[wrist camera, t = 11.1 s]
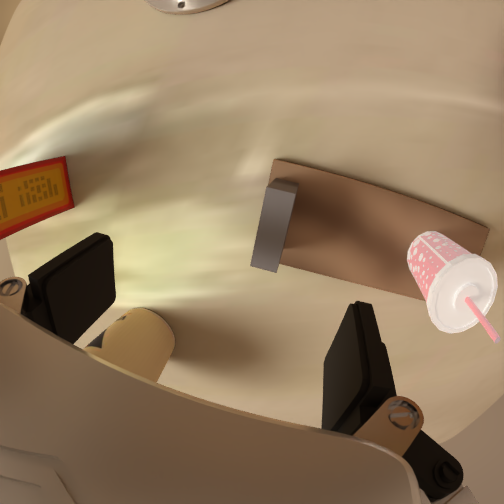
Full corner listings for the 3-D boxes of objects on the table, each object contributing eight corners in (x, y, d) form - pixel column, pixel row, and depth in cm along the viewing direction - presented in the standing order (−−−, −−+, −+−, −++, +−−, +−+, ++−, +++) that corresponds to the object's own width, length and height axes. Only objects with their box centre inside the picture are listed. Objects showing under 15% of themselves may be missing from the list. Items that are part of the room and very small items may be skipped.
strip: (274, 158, 24) (263, 164, 19) (485, 226, 22) (516, 247, 16) (254, 253, 28) (240, 281, 22) (453, 304, 25) (473, 336, 20)
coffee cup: (128, 287, 33) (65, 345, 22) (192, 330, 33) (146, 404, 22) (113, 333, 37) (64, 387, 26) (168, 370, 37) (129, 434, 26)
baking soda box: (35, 216, 33) (-52, 258, 18) (26, 173, 30) (-65, 203, 16) (74, 207, 30) (-31, 256, 16) (65, 156, 28) (-47, 185, 14)
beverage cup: (413, 291, 26) (465, 392, 13) (386, 244, 25) (443, 338, 12) (459, 257, 24) (535, 339, 11) (436, 207, 23) (527, 272, 10)
